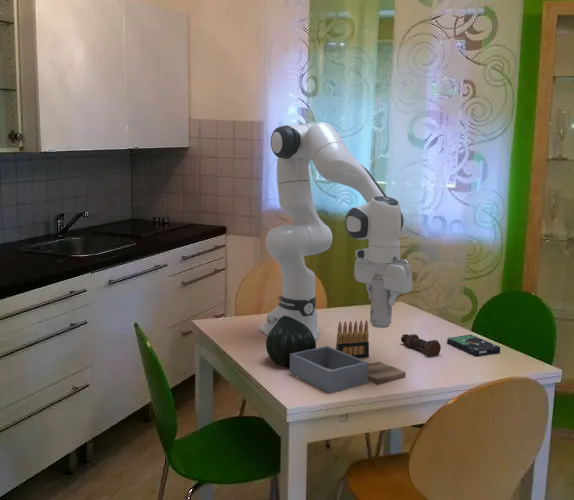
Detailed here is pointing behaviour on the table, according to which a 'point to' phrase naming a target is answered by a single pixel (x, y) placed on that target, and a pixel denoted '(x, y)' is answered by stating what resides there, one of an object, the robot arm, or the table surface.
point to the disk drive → (473, 345)
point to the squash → (288, 340)
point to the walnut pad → (383, 373)
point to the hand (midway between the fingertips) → (381, 302)
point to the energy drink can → (380, 304)
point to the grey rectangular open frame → (342, 376)
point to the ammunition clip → (353, 340)
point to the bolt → (422, 344)
